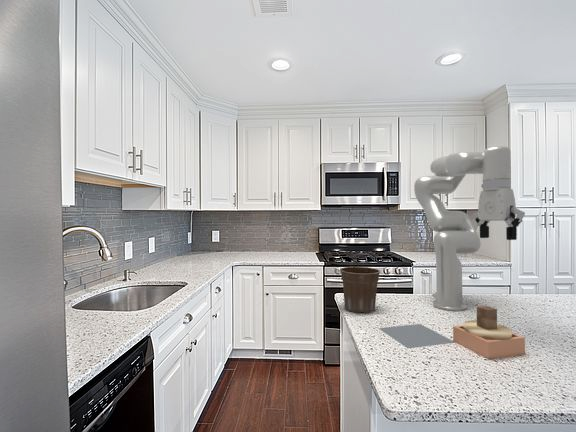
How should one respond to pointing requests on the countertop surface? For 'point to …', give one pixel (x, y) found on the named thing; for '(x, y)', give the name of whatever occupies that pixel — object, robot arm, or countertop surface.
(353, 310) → the plant pot
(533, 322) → the countertop surface
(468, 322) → the lid
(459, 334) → the salmon open box
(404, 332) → the mat
